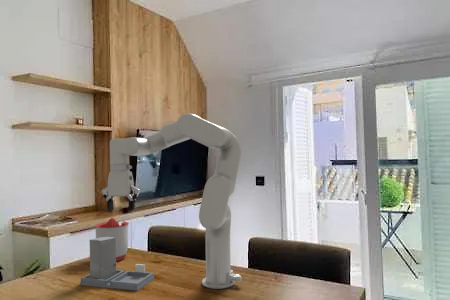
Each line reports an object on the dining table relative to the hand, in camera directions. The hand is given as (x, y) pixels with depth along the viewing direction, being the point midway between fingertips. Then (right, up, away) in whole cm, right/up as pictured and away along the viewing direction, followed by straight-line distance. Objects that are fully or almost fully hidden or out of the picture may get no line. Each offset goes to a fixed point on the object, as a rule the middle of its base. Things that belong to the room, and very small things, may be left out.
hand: (121, 210), depth 145 cm
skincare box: (-6, -27, -4) cm, 27 cm away
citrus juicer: (-12, -28, +27) cm, 41 cm away
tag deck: (+1, -27, -6) cm, 28 cm away
